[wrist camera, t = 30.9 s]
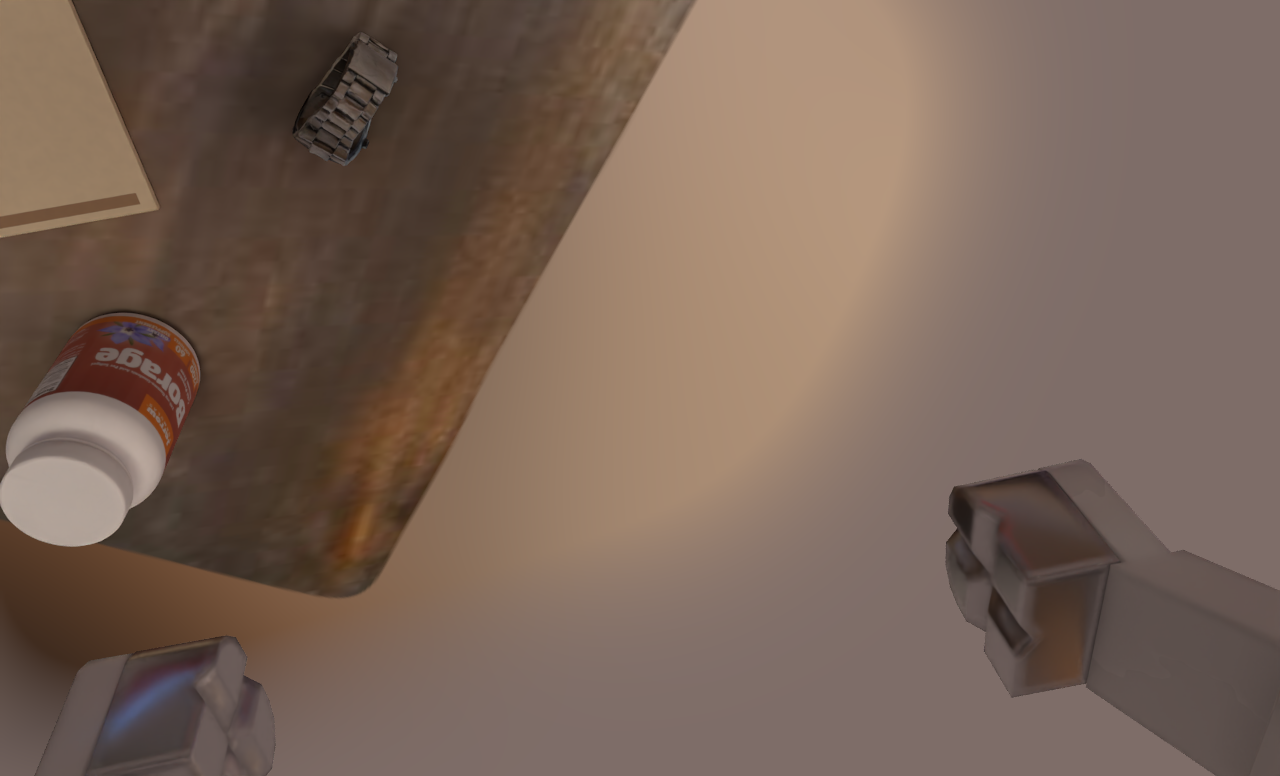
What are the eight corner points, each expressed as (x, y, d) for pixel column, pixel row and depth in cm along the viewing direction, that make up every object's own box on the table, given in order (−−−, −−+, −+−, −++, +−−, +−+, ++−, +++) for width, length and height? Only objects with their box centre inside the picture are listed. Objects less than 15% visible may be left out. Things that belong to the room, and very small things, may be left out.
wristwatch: (324, 56, 44) (281, 147, 42) (375, 9, 40) (329, 108, 38) (384, 96, 46) (345, 185, 44) (437, 55, 42) (397, 151, 40)
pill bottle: (230, 365, 50) (179, 505, 41) (148, 434, 51) (81, 584, 42) (123, 283, 47) (43, 415, 38) (39, 358, 48) (-58, 503, 39)
